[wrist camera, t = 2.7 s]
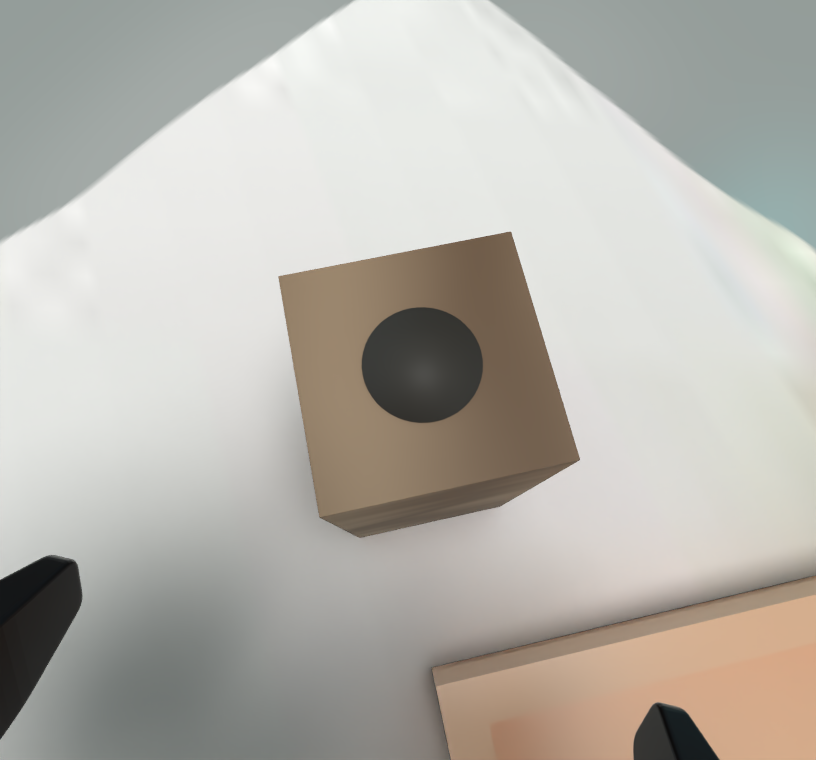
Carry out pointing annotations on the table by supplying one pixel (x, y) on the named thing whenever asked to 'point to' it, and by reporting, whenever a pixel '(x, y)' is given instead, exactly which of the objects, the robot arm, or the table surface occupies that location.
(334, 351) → the walnut block
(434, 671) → the tray
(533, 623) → the table surface
